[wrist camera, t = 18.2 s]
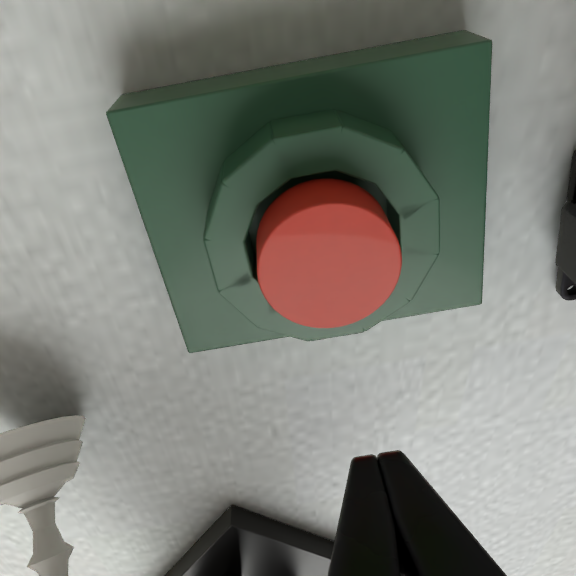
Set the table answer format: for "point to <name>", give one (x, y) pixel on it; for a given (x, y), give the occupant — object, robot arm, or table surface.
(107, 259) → the table surface
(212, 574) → the bracket
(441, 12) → the table surface
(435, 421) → the table surface
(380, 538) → the robot arm
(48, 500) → the chalice
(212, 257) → the button box
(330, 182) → the button
